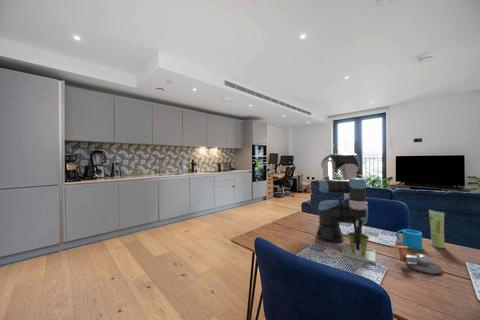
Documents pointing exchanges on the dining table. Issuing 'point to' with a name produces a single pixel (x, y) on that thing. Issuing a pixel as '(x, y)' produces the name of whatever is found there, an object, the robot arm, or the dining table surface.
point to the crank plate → (425, 268)
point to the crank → (413, 257)
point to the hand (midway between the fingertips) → (358, 252)
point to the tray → (368, 257)
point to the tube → (437, 228)
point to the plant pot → (363, 242)
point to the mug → (411, 238)
